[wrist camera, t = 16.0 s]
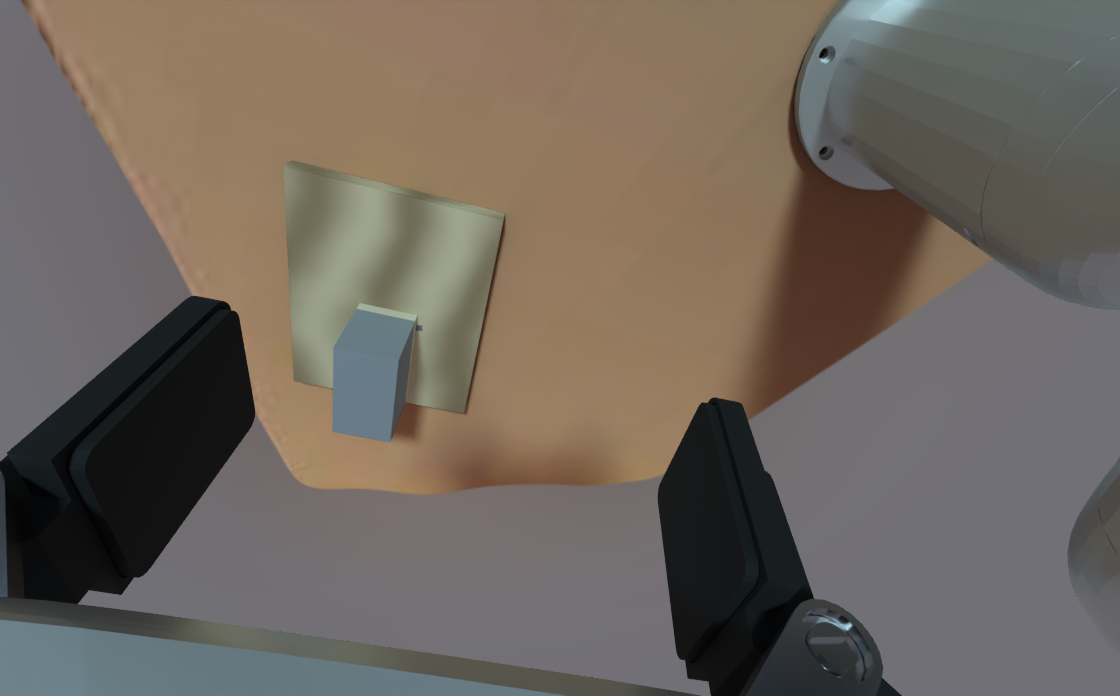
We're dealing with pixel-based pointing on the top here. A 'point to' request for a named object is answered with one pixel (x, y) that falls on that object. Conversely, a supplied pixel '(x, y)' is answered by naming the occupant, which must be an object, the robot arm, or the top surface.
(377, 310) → the block
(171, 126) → the top surface
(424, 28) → the top surface
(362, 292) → the board
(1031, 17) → the robot arm
